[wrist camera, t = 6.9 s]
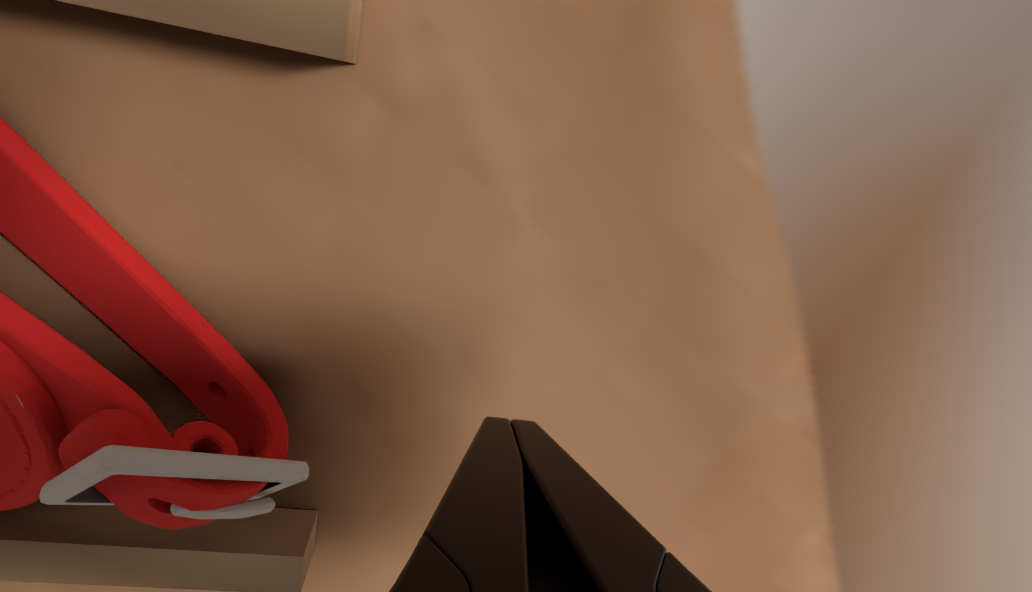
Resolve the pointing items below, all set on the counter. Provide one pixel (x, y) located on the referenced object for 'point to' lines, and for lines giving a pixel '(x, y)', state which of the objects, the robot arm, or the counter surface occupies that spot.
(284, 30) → the guide channel
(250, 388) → the tracker holder
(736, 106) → the counter surface
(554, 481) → the robot arm
